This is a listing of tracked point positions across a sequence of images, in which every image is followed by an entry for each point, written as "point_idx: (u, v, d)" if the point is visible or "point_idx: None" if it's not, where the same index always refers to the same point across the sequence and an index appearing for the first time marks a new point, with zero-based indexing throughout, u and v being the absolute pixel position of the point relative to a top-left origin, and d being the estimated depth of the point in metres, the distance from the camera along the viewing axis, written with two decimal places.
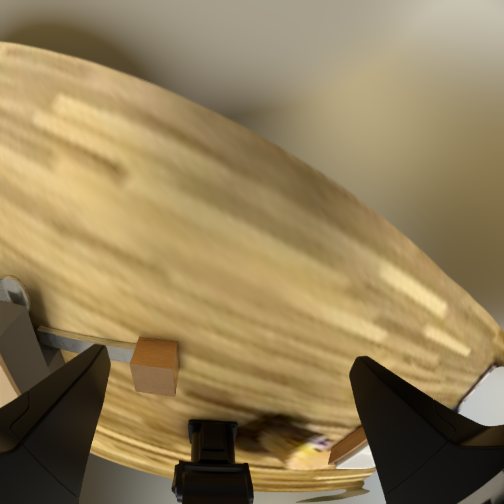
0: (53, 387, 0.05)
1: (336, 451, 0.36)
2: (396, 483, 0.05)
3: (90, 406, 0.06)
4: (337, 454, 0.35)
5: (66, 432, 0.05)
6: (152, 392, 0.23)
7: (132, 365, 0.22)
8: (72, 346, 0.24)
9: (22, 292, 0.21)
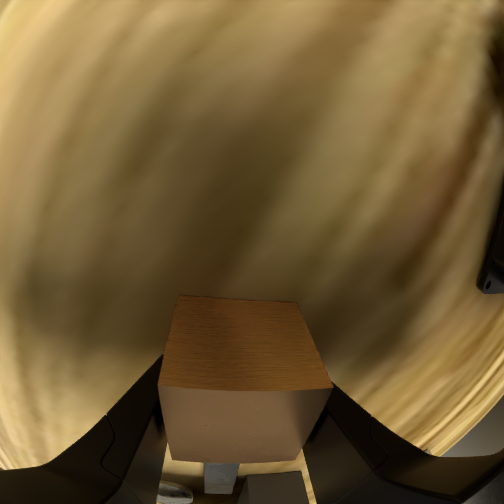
0: (133, 407, 0.06)
1: None
2: None
3: None
4: None
5: (151, 453, 0.05)
6: (301, 436, 0.07)
7: (177, 457, 0.07)
8: (223, 472, 0.12)
9: None
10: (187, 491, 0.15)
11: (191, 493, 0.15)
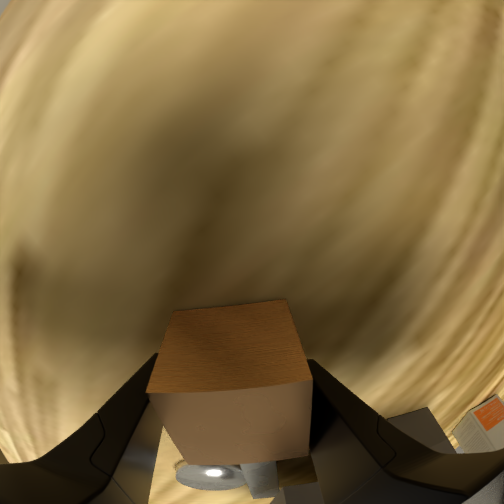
0: (124, 405, 0.06)
1: None
2: (336, 502, 0.05)
3: (158, 419, 0.07)
4: None
5: (142, 451, 0.05)
6: (302, 431, 0.07)
7: (191, 462, 0.07)
8: (263, 475, 0.13)
9: (193, 468, 0.13)
10: None
11: None
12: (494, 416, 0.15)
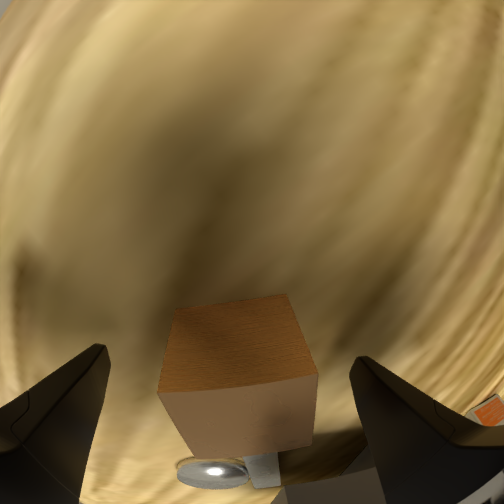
0: (53, 387, 0.05)
1: None
2: (396, 483, 0.05)
3: (90, 406, 0.06)
4: None
5: (66, 432, 0.05)
6: (307, 422, 0.07)
7: (200, 456, 0.07)
8: (265, 465, 0.13)
9: (194, 467, 0.13)
10: (243, 467, 0.14)
11: (247, 470, 0.14)
12: (494, 416, 0.15)
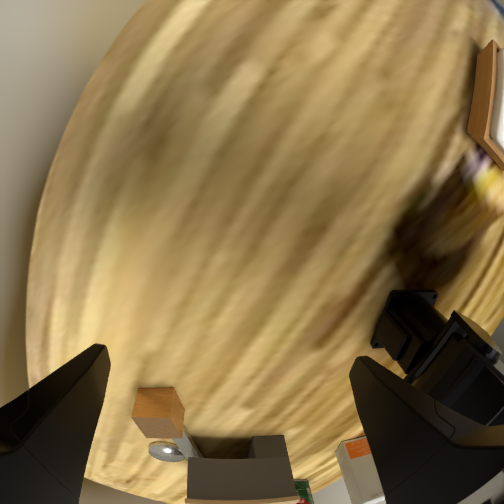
0: (53, 387, 0.05)
1: None
2: (396, 483, 0.05)
3: (90, 406, 0.06)
4: None
5: (66, 432, 0.05)
6: (174, 430, 0.22)
7: (147, 436, 0.22)
8: (188, 449, 0.28)
9: (155, 446, 0.28)
10: None
11: None
12: (362, 450, 0.30)
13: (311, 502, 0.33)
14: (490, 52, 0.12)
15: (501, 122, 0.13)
